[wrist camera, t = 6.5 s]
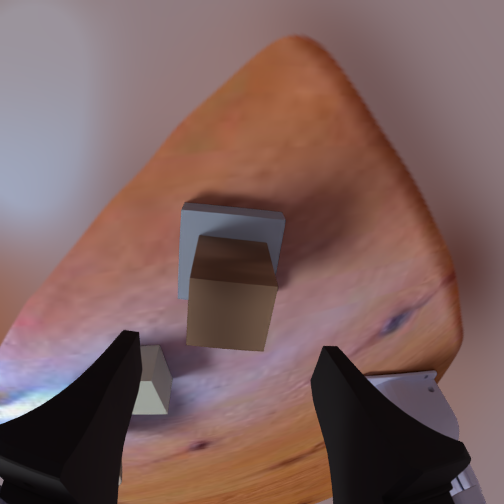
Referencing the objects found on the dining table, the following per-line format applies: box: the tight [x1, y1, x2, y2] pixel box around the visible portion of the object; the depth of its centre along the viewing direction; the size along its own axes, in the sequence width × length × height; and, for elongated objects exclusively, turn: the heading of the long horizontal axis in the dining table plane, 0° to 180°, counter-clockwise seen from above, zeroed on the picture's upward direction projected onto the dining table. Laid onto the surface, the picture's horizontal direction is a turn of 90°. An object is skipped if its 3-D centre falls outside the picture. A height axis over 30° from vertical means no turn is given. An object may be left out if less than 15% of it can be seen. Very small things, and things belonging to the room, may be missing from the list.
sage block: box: [132, 345, 173, 414], centre depth 23 cm, size 4×4×4 cm
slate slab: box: [178, 202, 286, 300], centre depth 21 cm, size 6×6×2 cm
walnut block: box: [186, 235, 278, 351], centre depth 18 cm, size 4×4×5 cm
